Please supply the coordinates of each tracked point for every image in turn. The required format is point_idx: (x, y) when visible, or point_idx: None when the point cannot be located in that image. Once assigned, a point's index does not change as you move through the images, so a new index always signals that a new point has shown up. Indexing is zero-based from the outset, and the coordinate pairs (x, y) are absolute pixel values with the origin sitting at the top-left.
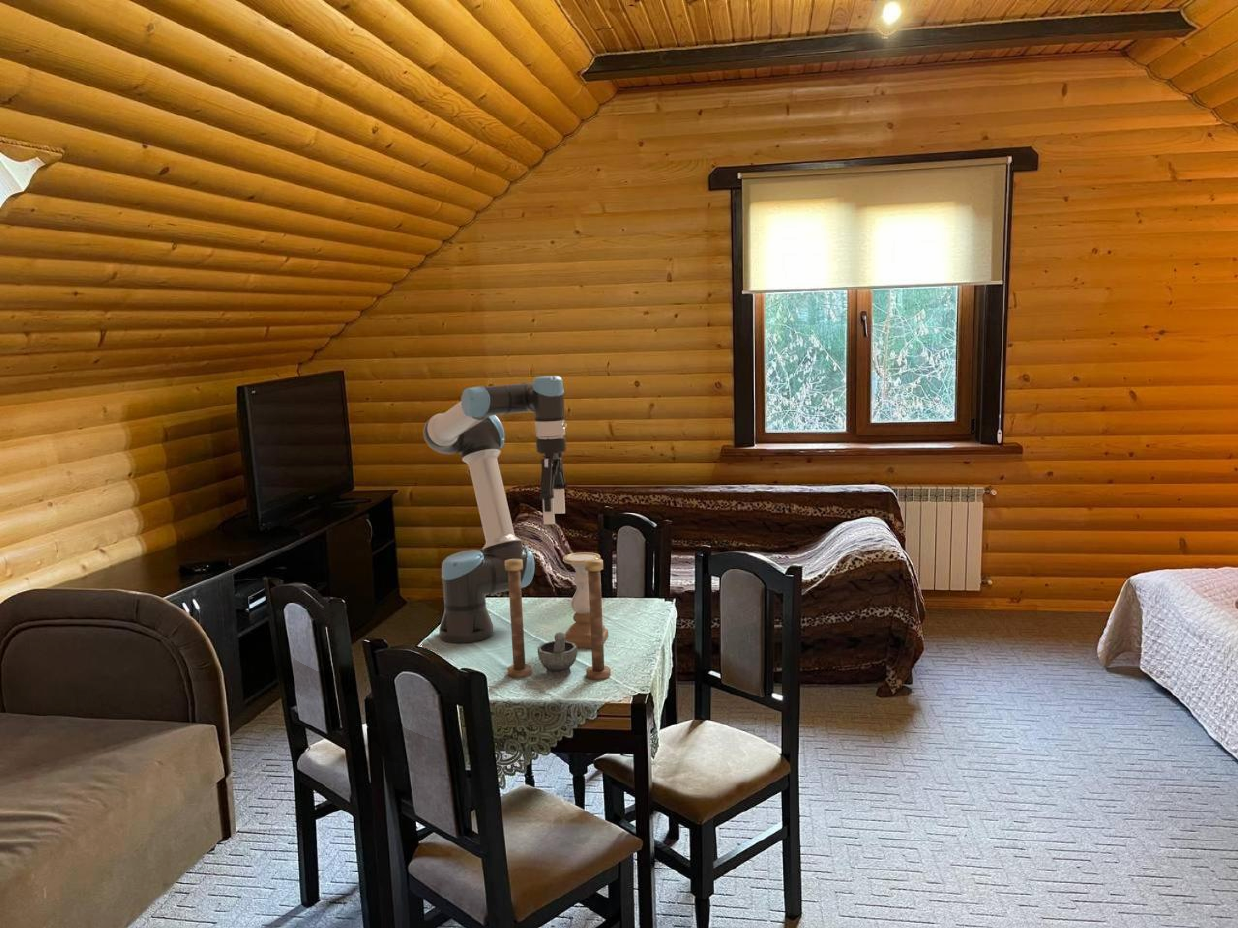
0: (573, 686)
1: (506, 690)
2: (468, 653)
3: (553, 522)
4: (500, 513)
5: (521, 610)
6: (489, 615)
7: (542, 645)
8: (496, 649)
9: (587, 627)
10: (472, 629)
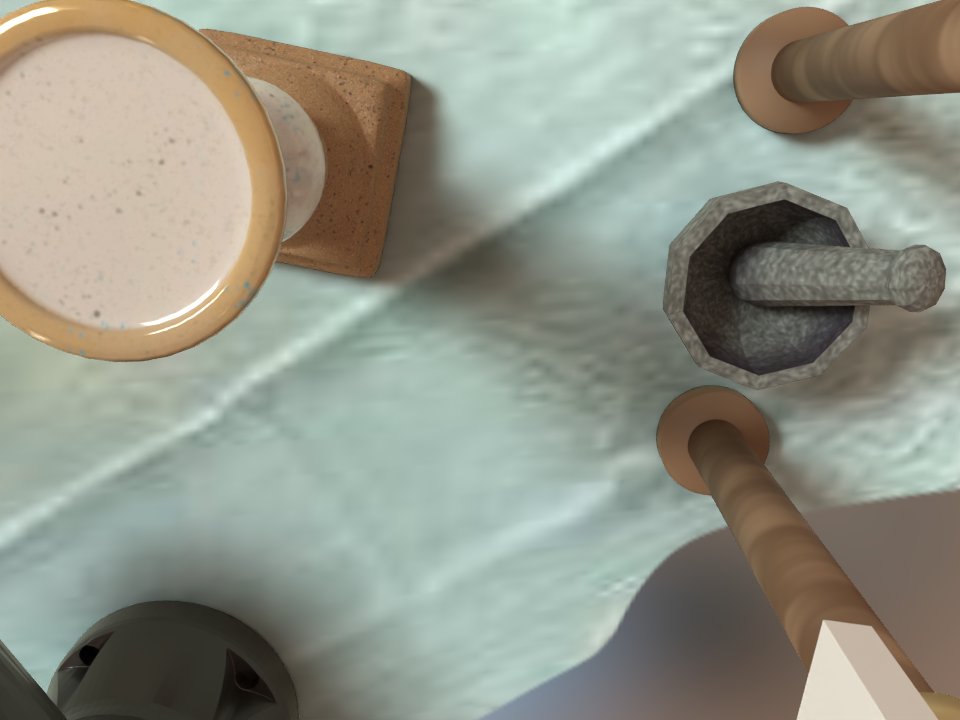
0: (909, 188)
1: (893, 471)
2: (427, 668)
3: (878, 652)
4: None
5: (819, 546)
6: (114, 660)
7: (731, 366)
8: (385, 562)
9: (333, 140)
10: (261, 704)
